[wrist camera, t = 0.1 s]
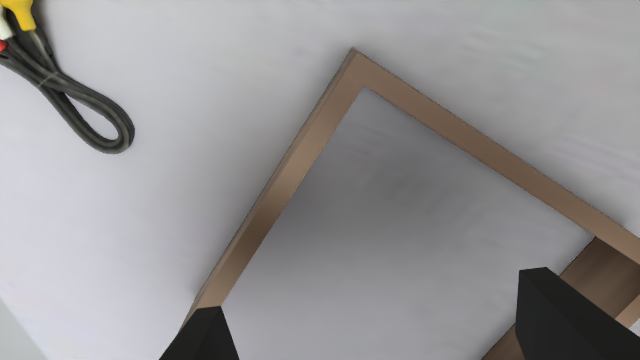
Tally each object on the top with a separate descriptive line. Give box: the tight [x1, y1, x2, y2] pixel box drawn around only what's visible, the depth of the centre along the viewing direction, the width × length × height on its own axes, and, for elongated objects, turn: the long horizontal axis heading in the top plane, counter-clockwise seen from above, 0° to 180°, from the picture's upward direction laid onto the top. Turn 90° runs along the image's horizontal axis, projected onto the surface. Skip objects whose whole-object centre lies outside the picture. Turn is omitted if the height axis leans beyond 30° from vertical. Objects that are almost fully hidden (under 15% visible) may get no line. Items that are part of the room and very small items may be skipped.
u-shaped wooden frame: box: [178, 48, 640, 360], centre depth 20 cm, size 15×16×4 cm
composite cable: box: [0, 0, 135, 154], centre depth 19 cm, size 10×5×2 cm, turn 27°
